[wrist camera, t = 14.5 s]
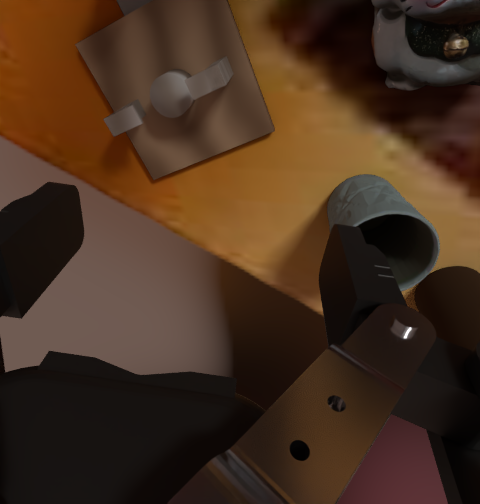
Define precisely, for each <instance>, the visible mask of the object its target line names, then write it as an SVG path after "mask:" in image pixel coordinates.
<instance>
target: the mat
mask: <svg viewBox="0 0 480 504" xmlns="http://www.w3.org/2000/svg"><path fill="white" fill-rule="evenodd" d="M151 1H152V0H117V2H118V4H119V6H120V8H121V10H122V12H123V14H124V16H126V15H128V14H129V13H131V12H133V11H135V10H136V9H138V8H140V7H142V6H143V5H145V4H147V3H149V2H151Z"/></svg>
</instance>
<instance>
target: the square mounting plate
mask: <svg viewBox="0 0 480 504" xmlns="http://www.w3.org/2000/svg"><path fill="white" fill-rule="evenodd" d="M75 45H76V47H77V48H78V50H79V52H80V54H81V55H82V57H83V59H84V60H85V62H86V64H87V66H88V67H89V69H90V71H91V73H92V74H93V76H94V78H95V80H96V81H97V83H98V85H99V86H100V88H101V90H102V92H103V93H104V95H105V97H106V99H107V100H108V102H109V104H110V105H111V107H112V109H113V111H114V113H112V114H111V115H109V116H108V117H106V118H105V119H104V121H105V123H106V124H107V126H108V128H109V129H110V131H111V133H112V134H113V136H117V135H119V134H121V133H123V132H125V131H126V133H127V135H128V137H129V138H130V140H131V142H132V144H133V145H134V147H135V149H136V150H137V152H138V154H139V156H140V157H141V159H142V161H143V163H144V164H145V166H146V168H147V170H148V171H149V173H150V175H151V176H152V178H153V180H155V179H157V178H160V177H162V176H165V175H167V174H170V173H172V172H175V171H177V170H180V169H182V168H185V167H187V166H190V165H192V164H195V163H197V162H200V161H202V160H204V159H207V158H209V157H212V156H214V155H217V154H219V153H222V152H224V151H227V150H229V149H232V148H234V147H237V146H239V145H242V144H244V143H247V142H249V141H251V140H254V139H256V138H259V137H261V136H264V135H266V134H269V133H271V132H274V131H275V128H274V125H273V123H272V120H271V117H270V114H269V112H268V109H267V106H266V104H265V101H264V98H263V95H262V93H261V90H260V87H259V85H258V82H257V79H256V76H255V74H254V71H253V68H252V66H251V63H250V60H249V57H248V55H247V52H246V49H245V47H244V44H243V41H242V38H241V36H240V33H239V30H238V28H237V25H236V22H235V19H234V17H233V14H232V11H231V9H230V6H229V3H228V0H152V1H151V2H149V3H147V4H145V5H143V6H142V7H140V8H138V9H136V10H135V11H133V12H131V13H129V14H128V15H126V16H124V17H122V18H121V19H119V20H117V21H115V22H114V23H112V24H110V25H108V26H107V27H105V28H103V29H101V30H100V31H98V32H96V33H94V34H93V35H91V36H89V37H87V38H86V39H84V40H82V41H80V42H78V43H77V44H75Z"/></svg>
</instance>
